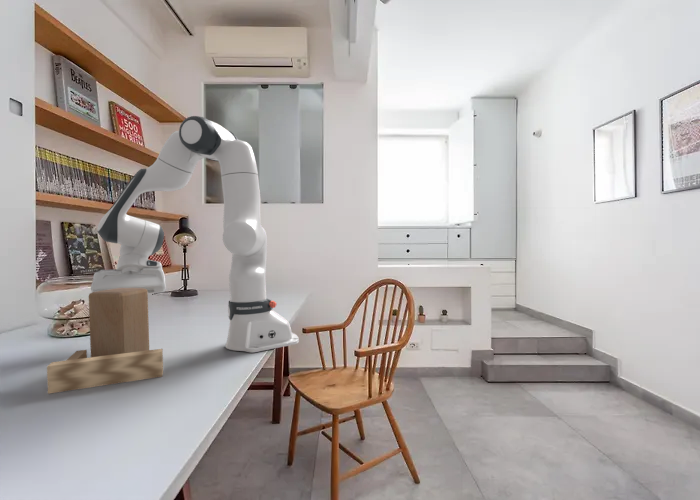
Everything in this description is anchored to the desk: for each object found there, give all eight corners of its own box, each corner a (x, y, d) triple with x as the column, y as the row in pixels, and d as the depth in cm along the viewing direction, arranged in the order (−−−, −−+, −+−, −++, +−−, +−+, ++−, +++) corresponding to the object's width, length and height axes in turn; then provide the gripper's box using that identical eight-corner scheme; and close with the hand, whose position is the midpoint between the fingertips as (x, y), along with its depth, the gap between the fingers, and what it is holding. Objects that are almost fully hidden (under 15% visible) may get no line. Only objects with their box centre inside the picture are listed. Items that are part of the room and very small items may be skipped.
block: (121, 371, 90) (119, 292, 89) (89, 368, 92) (86, 292, 91) (151, 358, 100) (149, 287, 99) (121, 356, 102) (119, 287, 101)
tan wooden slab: (165, 362, 96) (165, 340, 95) (162, 376, 86) (161, 352, 85) (65, 376, 87) (64, 352, 87) (48, 393, 77) (46, 366, 77)
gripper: (92, 263, 111) (84, 299, 102) (166, 262, 119) (164, 295, 110) (96, 276, 115) (88, 312, 106) (167, 274, 123) (165, 306, 114)
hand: (127, 303), depth 108 cm, fingers closed
